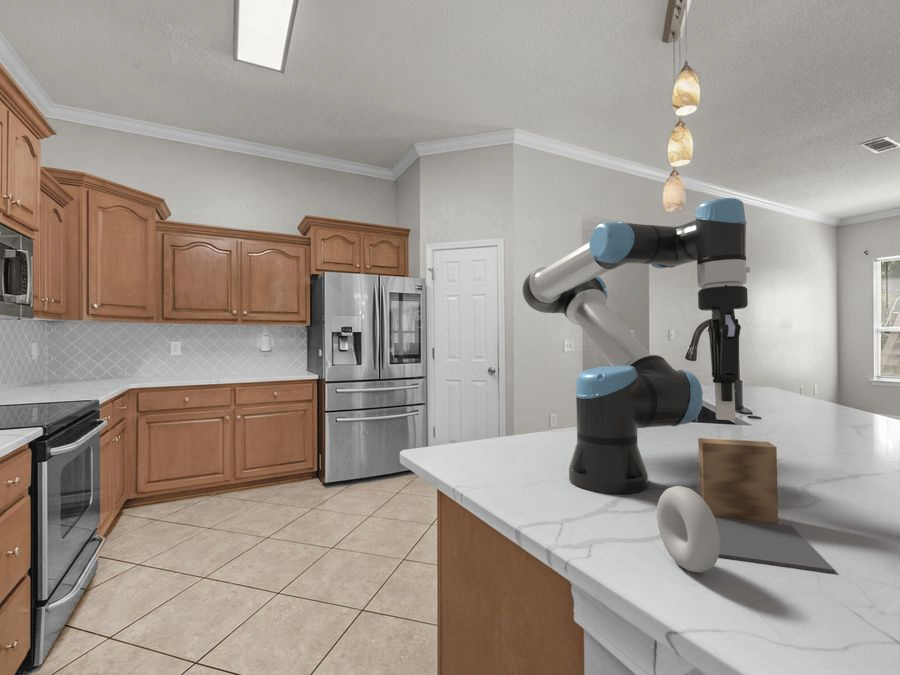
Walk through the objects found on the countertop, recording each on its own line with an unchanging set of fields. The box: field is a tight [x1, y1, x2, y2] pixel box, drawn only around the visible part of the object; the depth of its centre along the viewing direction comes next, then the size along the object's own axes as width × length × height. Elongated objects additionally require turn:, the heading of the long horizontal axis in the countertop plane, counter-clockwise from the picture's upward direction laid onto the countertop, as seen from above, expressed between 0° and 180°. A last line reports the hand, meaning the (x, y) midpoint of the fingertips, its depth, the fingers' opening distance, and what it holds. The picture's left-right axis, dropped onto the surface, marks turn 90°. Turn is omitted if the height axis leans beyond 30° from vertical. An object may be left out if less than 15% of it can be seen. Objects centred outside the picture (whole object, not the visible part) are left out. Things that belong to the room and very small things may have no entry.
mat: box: [715, 517, 836, 574], centre depth 62 cm, size 13×14×1 cm
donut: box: [656, 485, 721, 573], centre depth 55 cm, size 10×4×10 cm, turn 5°
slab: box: [697, 437, 779, 524], centre depth 71 cm, size 10×4×12 cm, turn 69°
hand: (725, 419), depth 78 cm, fingers closed
